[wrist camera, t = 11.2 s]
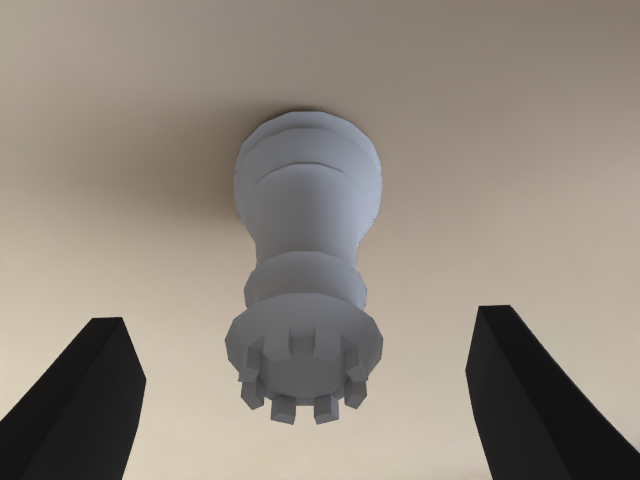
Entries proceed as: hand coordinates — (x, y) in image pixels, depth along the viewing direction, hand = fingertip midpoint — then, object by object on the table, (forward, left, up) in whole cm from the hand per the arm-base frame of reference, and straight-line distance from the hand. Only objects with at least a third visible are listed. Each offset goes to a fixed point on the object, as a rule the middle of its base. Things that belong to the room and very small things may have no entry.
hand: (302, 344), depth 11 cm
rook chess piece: (0, 0, -7) cm, 7 cm away
